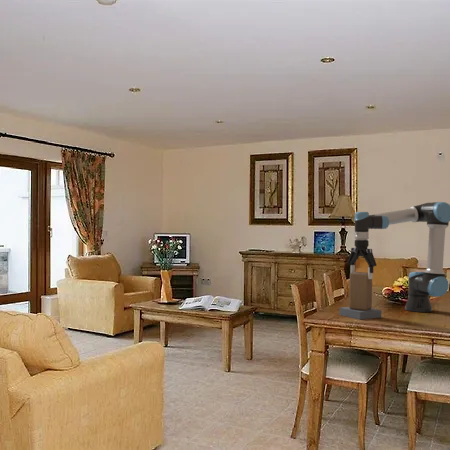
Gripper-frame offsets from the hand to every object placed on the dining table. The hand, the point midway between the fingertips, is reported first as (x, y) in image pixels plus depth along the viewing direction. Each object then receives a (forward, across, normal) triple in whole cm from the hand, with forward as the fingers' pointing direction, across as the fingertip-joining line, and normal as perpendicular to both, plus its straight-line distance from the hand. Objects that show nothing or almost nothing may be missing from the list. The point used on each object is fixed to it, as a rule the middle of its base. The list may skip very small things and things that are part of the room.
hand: (361, 277), depth 290 cm
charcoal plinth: (+21, 0, -1) cm, 21 cm away
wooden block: (+17, 0, 0) cm, 17 cm away
